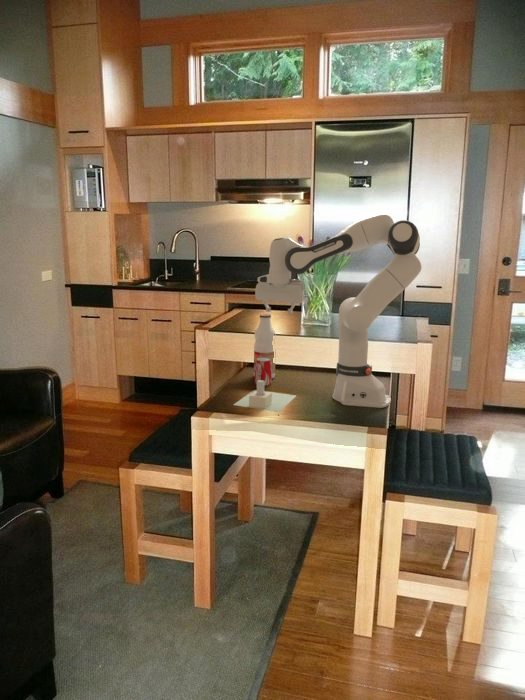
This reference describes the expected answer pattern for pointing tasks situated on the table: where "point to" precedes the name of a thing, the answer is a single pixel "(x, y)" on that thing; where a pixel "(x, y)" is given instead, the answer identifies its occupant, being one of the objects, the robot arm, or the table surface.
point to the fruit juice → (264, 341)
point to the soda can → (263, 370)
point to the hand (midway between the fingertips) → (279, 312)
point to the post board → (277, 399)
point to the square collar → (260, 400)
